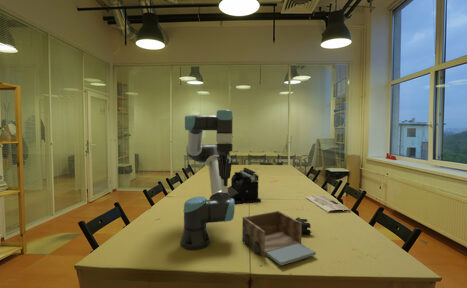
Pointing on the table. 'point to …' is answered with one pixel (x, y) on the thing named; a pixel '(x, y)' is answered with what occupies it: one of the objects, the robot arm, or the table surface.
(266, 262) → the table surface
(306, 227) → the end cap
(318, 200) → the newspaper
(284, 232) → the box
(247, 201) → the typewriter
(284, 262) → the panel
